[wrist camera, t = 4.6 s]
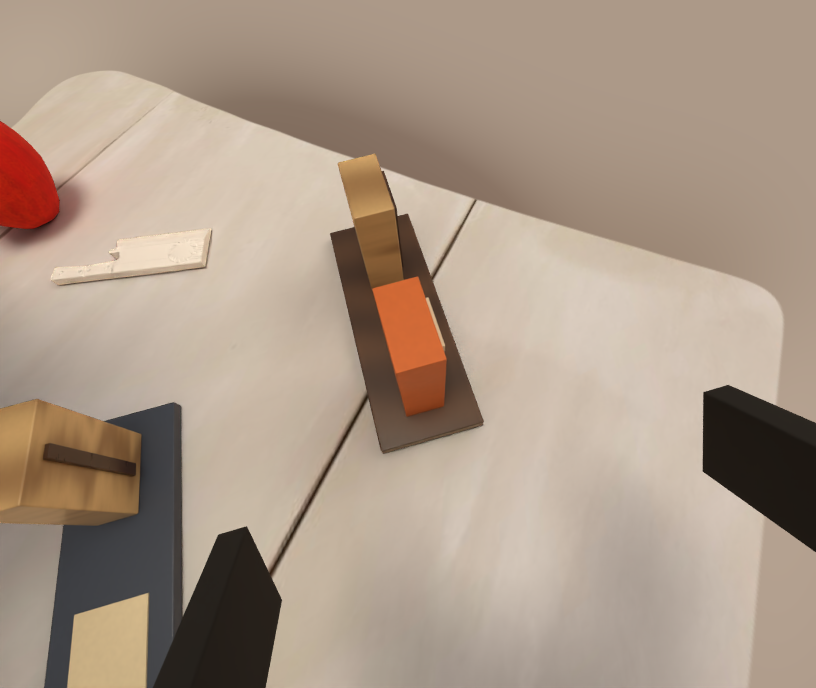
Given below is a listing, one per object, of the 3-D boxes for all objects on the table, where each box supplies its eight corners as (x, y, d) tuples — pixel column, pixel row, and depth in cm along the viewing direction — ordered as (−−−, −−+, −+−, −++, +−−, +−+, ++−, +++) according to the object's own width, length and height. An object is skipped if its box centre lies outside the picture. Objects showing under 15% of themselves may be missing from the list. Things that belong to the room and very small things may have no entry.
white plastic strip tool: (72, 246, 41) (63, 238, 40) (212, 230, 41) (207, 222, 40) (57, 285, 39) (47, 278, 38) (205, 268, 39) (199, 261, 38)
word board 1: (84, 431, 32) (72, 428, 31) (181, 405, 33) (172, 401, 32) (45, 797, 23) (26, 809, 22) (183, 752, 23) (171, 762, 22)
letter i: (103, 444, 31) (-16, 412, 22) (146, 432, 31) (42, 396, 23) (96, 526, 28) (-42, 522, 20) (143, 512, 28) (25, 504, 20)
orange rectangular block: (388, 349, 33) (372, 288, 24) (426, 338, 33) (422, 274, 25) (406, 417, 30) (395, 373, 22) (448, 405, 30) (452, 358, 22)
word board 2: (332, 239, 39) (329, 232, 39) (408, 220, 40) (407, 213, 39) (382, 454, 30) (381, 451, 29) (482, 425, 30) (484, 422, 29)
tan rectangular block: (358, 241, 38) (337, 162, 30) (391, 233, 38) (379, 152, 30) (372, 291, 35) (352, 218, 27) (407, 282, 35) (398, 207, 27)
